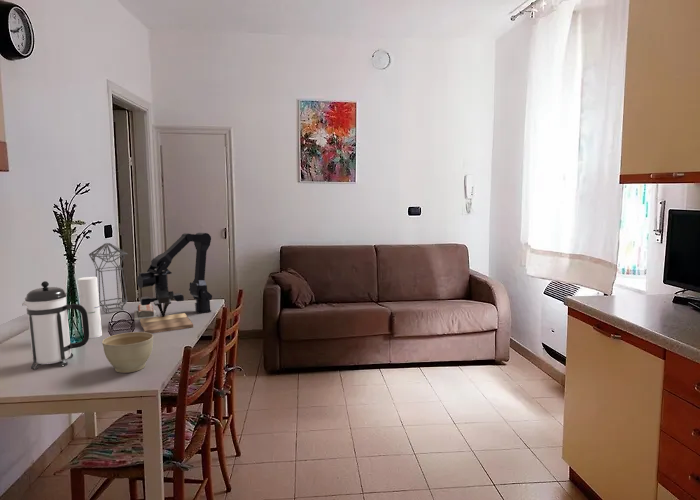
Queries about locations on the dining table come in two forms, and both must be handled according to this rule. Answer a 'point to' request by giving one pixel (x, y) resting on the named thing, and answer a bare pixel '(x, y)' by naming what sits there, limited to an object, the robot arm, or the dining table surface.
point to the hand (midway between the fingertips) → (163, 316)
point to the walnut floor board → (167, 325)
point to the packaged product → (144, 312)
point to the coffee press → (51, 325)
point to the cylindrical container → (91, 304)
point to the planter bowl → (128, 350)
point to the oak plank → (163, 318)
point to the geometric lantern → (109, 270)
